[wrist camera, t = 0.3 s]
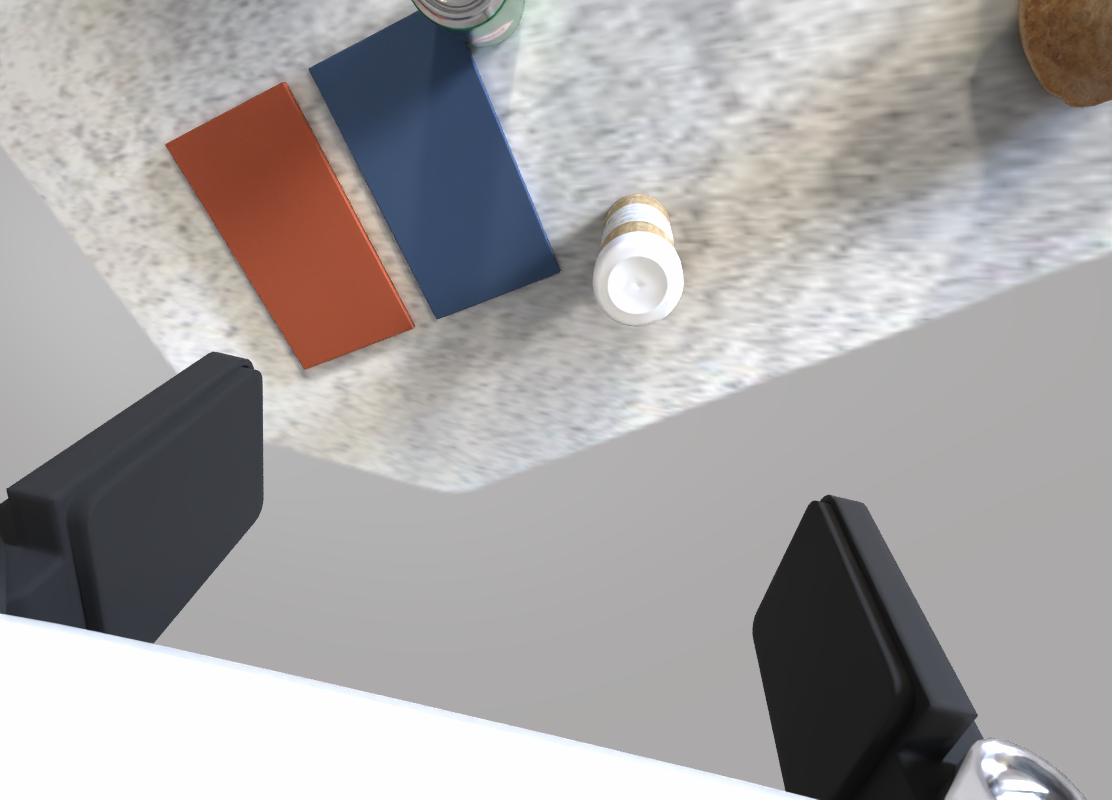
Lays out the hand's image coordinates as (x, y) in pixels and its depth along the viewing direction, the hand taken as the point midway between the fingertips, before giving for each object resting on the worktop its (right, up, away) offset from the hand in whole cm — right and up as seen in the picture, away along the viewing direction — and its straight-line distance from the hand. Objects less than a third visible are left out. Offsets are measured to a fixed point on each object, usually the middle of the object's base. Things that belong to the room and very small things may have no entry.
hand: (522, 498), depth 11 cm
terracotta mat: (-18, +13, +36) cm, 43 cm away
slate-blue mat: (-7, +17, +33) cm, 38 cm away
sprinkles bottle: (+6, +14, +33) cm, 36 cm away
